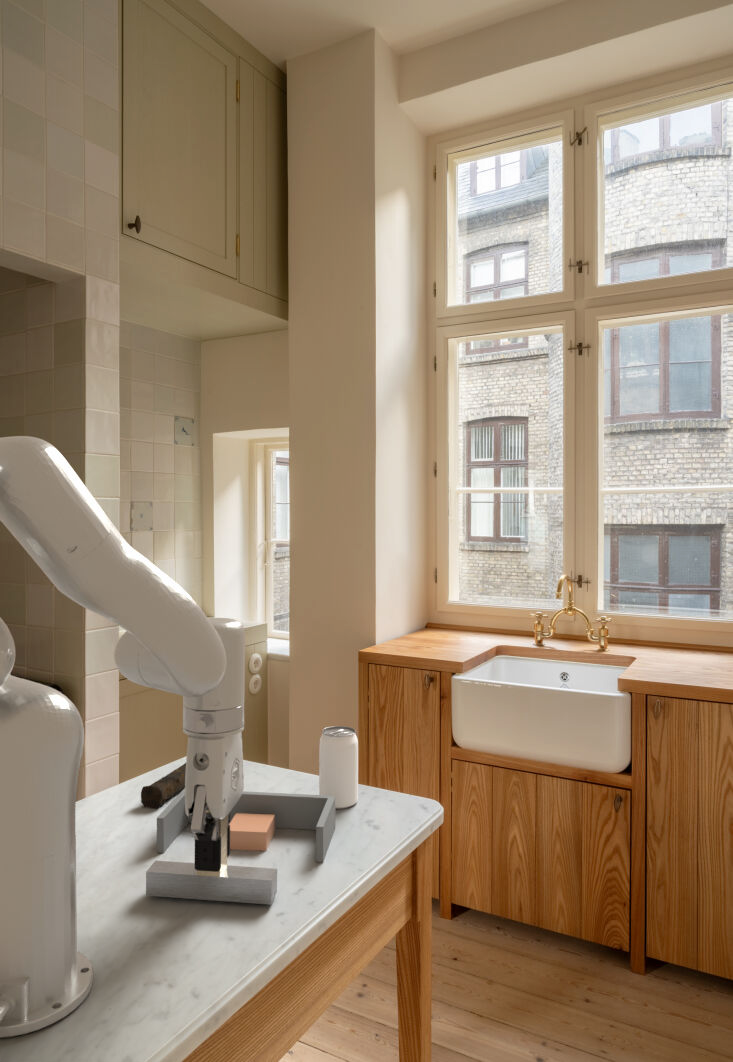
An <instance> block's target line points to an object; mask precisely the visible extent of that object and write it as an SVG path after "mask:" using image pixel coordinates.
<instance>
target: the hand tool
mask: <svg viewBox="0 0 733 1062" xmlns="http://www.w3.org/2000/svg"><path fill="white" fill-rule="evenodd" d="M185 773H186V762H184V763H183V764H182V765H180V766H179V767H178V768H175V769H174V770H172V771H171V772H170V773H169V772H168V774H166V775H164V776H162V777H161V778H159V779H158V780H156V781H154V782H153V783H151V784H150V785H145V786H142V788H141V791H140V802H141V804H142V807H144V808H149V809H155V810H156V809H159V808H161V807H162V805H165V804H166V801H167V800H168V799H170V797H173V796H174V795H175V794H176V793H178V792H179V791H180V792H181V791H182V790H183V789H184V788H185Z"/></svg>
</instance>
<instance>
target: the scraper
mask: <svg viewBox="0 0 733 1062" xmlns="http://www.w3.org/2000/svg"><path fill="white" fill-rule="evenodd" d="M206 812H209V813H211V812H210V810H206ZM212 821H213V820H205V822H206V823H208V824H210V825H211V826H212ZM227 833H228V815H227V816H226V817H225V818H224V819H219V836H218V838H221V869H220V870H219V871H218V872H212V871H198V870H196V869H195V862H183V861H182V862H180V861H167V860H154V862H153V863H152V864H151V865H150V867H148V869H147V870H146V871H145V872H146V873H145V896H149V897H150V896H151V897H161V898H162V897H164V898H173V899H174V898H175V899H177V898H179V899H188V900H190V899H191V900H202V901H203V900H204V901H215V902H216V901H218V902H228V903H229V902H231V903H242V904H243V903H245V904H246V903H247V904H258V905H259V904H260V905H270V906H271V905H273V902H274V899H275V897H276V895H277V893H278V868H271V867H270V868H269V867H255V866H244V865H243V866H241V865H228V857H227Z"/></svg>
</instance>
